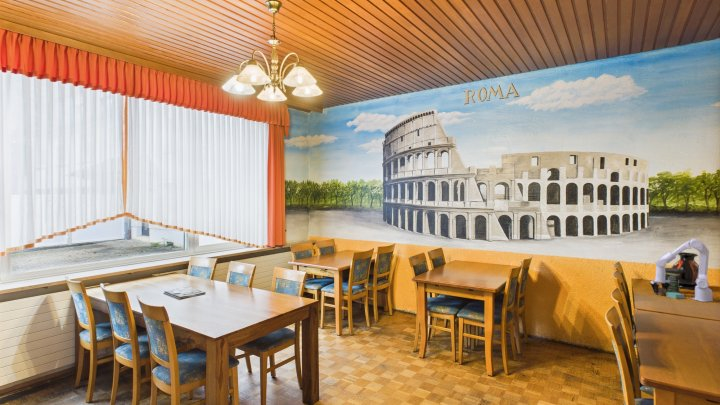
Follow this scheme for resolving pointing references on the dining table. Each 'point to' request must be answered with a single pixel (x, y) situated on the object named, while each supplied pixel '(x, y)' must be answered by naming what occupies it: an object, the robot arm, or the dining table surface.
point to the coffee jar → (672, 279)
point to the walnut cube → (661, 292)
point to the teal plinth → (675, 295)
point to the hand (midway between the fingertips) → (659, 292)
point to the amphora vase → (687, 270)
